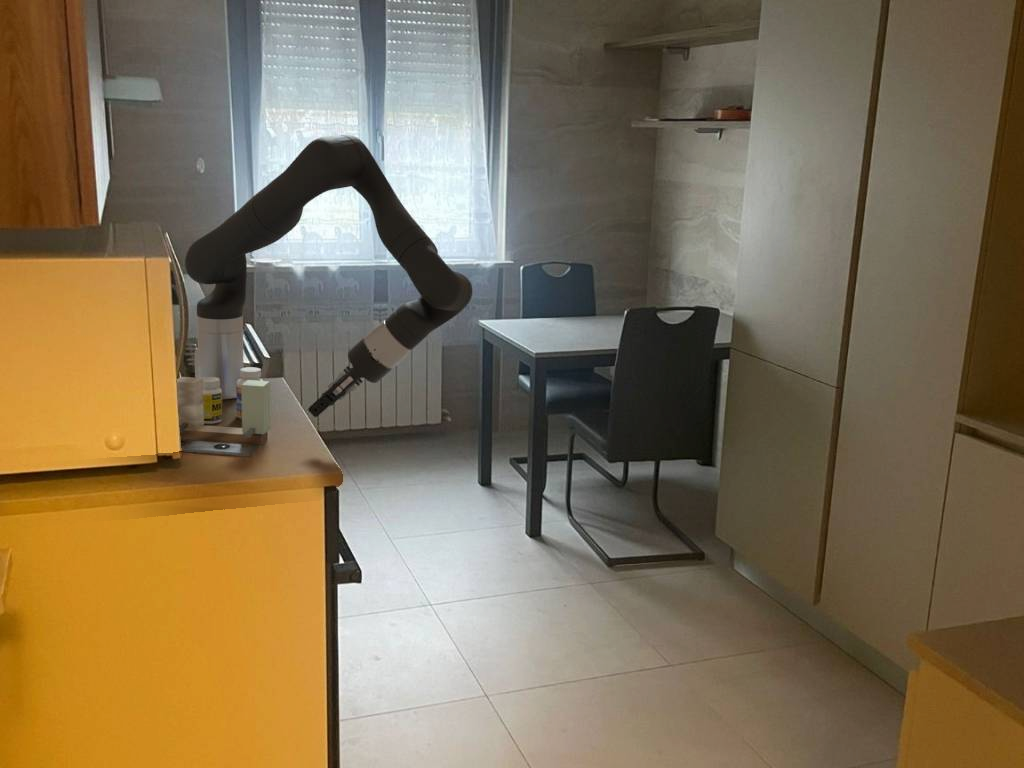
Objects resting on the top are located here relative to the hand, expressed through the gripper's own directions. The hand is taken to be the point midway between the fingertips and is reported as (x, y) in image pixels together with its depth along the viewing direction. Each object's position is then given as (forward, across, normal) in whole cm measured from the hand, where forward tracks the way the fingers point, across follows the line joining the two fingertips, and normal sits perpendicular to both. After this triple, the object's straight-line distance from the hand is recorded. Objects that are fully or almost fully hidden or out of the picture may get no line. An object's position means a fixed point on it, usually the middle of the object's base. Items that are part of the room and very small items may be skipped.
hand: (312, 412), depth 174 cm
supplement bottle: (+21, -11, -12) cm, 27 cm away
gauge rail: (+17, +2, -7) cm, 18 cm away
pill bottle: (+17, -16, -7) cm, 24 cm away
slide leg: (+10, +2, -4) cm, 11 cm away
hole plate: (+17, +5, -7) cm, 19 cm away
